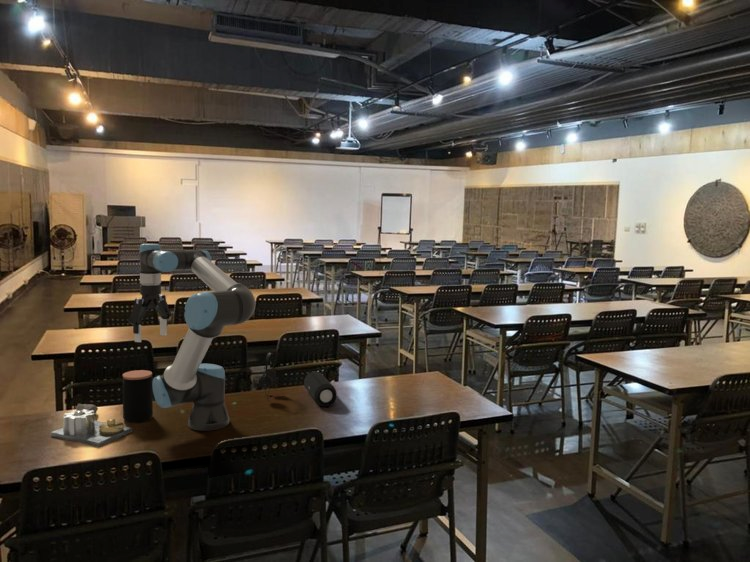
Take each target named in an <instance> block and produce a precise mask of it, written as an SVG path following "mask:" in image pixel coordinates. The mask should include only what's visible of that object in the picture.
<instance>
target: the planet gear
mask: <svg viewBox="0 0 750 562" xmlns="http://www.w3.org/2000/svg"><path fill="white" fill-rule="evenodd" d="M75 411H77V410H76V409H73V410H71V411H70V412H65V413H63V416H62V422H63V423H62V425H63V427H62V428H63V433H64V434H68V433H69V434H70V435H76V434H82V435H83V434H87V432H88V431H93V430H94V427H95V421H96V420H95V415H94V411H93V410H92V411H88V409H83V410H82V416H75ZM94 420H95V421H94Z"/></svg>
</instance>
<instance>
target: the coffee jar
mask: <svg viewBox="0 0 750 562" xmlns="http://www.w3.org/2000/svg"><path fill="white" fill-rule="evenodd" d="M152 376H153V372H152V371H151V370H145V369H140V370H136V369H135V370H129V371H126V372H124V373H122V378H123V380H122V416H123V417H122V418H123V420H124V421H125V422H126V423H129V424H130V423H131V424H137V423H138V424H139V423H144V422H147V421H149V420H151V418H152V417H153V415H154V413H153V411H154V409H153V408H154V407H153V405H154V404H153V397H154V394H153V388H152V382H153V377H152Z"/></svg>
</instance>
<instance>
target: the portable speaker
mask: <svg viewBox="0 0 750 562" xmlns="http://www.w3.org/2000/svg"><path fill="white" fill-rule="evenodd" d="M303 386H304V388H305V389H306V390H307V392H308V393H309V395H310V396H311V397H312V399H313V400H314V401H315V403H316V404H317V405H319V406H320V407H329V406H331V405H332V404H334V403H335V401H336V398H337V390H336V388H335V386H334V385H333V384H332V383H331V382H330V381H329V380H328V379H327V377H325V376H324V375H323V373H321V372H319V371H317V370H315V371H311V372H309V373H307V374H306V375H305V376H304V379H303Z"/></svg>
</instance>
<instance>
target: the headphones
mask: <svg viewBox="0 0 750 562" xmlns="http://www.w3.org/2000/svg"><path fill="white" fill-rule="evenodd" d="M269 361H270V364H269ZM268 365H269V368H268ZM274 367H275V364H274V353H273V352H267V354H266V357H265V366H264V367H263V369H264V370H263V373H262V375H261V376H260V377H259V378H258V385H259V387H260V388H262V389H265V390H264V391H265V392H264V393H265V397H266V398H267V399H268V398H269V397H270V396H273V395H272V394H270V392H268V394H270V395H268V394H266V393H267V392H266V389H269V388H270V387H271V386H272V385H273V382H274V381H275V380H276V378H277V372H276V371H275V370H274V369H273V368H274Z"/></svg>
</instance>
